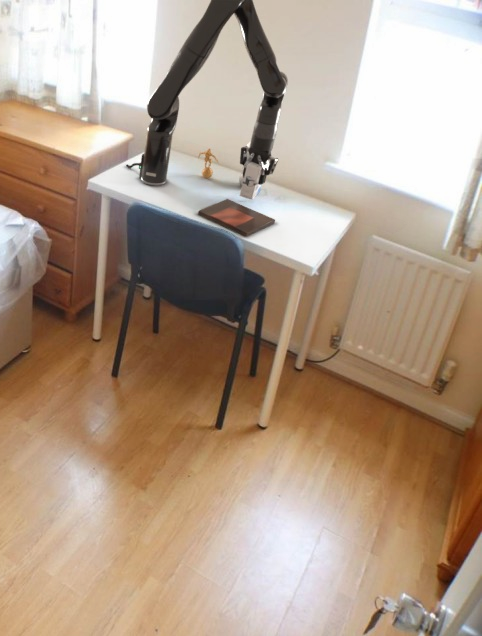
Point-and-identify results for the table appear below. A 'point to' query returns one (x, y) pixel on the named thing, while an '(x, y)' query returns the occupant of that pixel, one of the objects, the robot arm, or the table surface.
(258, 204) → the table surface
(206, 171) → the figurine
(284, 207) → the table surface
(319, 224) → the table surface
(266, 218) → the counter board
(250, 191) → the ink box
